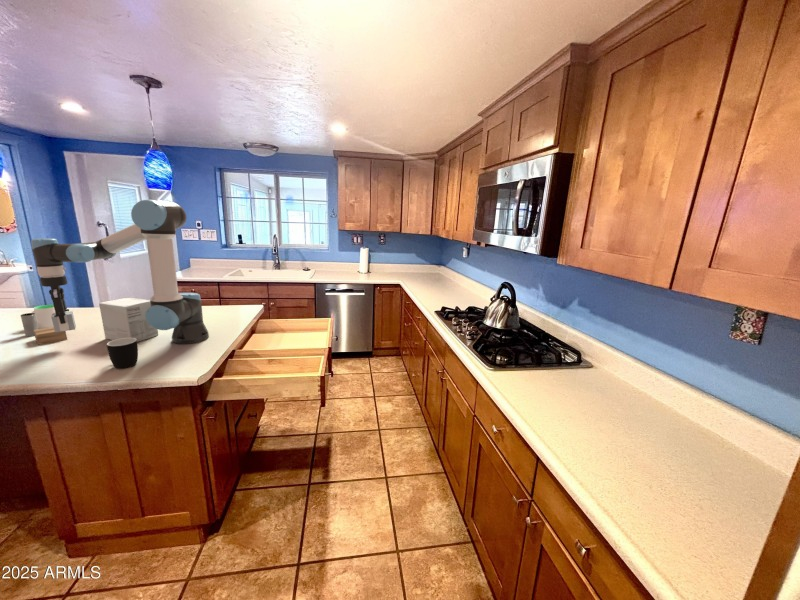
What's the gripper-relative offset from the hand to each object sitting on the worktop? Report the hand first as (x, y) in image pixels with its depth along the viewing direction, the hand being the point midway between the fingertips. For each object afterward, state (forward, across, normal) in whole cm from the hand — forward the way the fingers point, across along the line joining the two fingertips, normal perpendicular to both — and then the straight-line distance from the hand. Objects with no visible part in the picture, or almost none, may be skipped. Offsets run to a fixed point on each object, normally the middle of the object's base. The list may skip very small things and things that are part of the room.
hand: (65, 328), depth 137 cm
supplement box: (+10, 0, -21) cm, 23 cm away
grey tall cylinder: (+8, +30, +14) cm, 34 cm away
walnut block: (+9, +16, +7) cm, 20 cm away
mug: (+10, -34, -16) cm, 39 cm away
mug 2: (+8, +42, +11) cm, 44 cm away
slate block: (0, 0, 0) cm, 0 cm away
